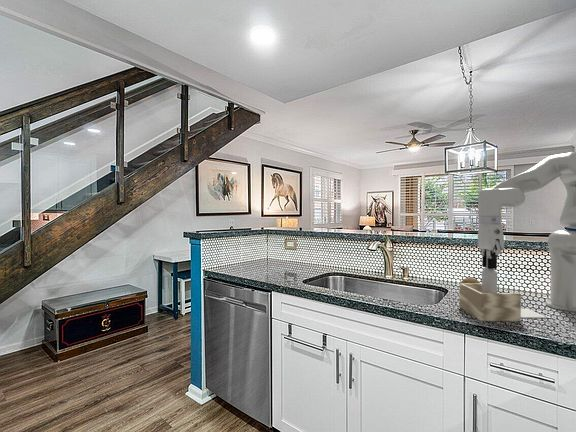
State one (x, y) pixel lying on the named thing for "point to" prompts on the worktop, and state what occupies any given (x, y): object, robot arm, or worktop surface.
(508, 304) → the open side box
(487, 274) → the bottle
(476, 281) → the natural sponge
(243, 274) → the worktop surface
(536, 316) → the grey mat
